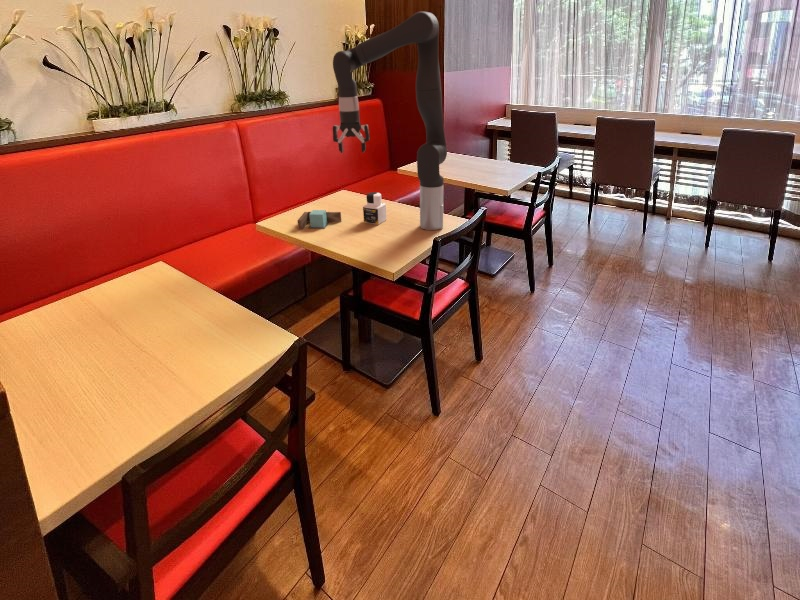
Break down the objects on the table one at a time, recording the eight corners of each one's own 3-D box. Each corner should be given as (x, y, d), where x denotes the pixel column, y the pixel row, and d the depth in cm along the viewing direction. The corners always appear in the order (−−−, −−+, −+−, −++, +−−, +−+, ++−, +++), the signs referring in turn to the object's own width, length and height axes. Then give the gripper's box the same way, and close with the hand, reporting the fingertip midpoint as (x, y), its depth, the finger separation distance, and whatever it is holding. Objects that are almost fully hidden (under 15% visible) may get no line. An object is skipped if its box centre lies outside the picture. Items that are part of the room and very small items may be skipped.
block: (327, 222, 204) (325, 210, 201) (323, 227, 199) (322, 214, 196) (314, 222, 204) (312, 210, 202) (310, 227, 199) (309, 214, 197)
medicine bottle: (363, 222, 203) (361, 194, 197) (372, 217, 208) (370, 190, 203) (378, 225, 200) (376, 196, 194) (386, 219, 205) (385, 192, 200)
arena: (341, 221, 206) (340, 211, 204) (335, 230, 196) (334, 220, 194) (306, 220, 207) (304, 211, 205) (298, 229, 198) (297, 220, 196)
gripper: (369, 107, 188) (371, 150, 196) (333, 108, 190) (337, 150, 198) (365, 110, 182) (368, 154, 189) (328, 111, 183) (333, 154, 191)
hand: (352, 152), depth 193 cm, fingers open, 8 cm apart
